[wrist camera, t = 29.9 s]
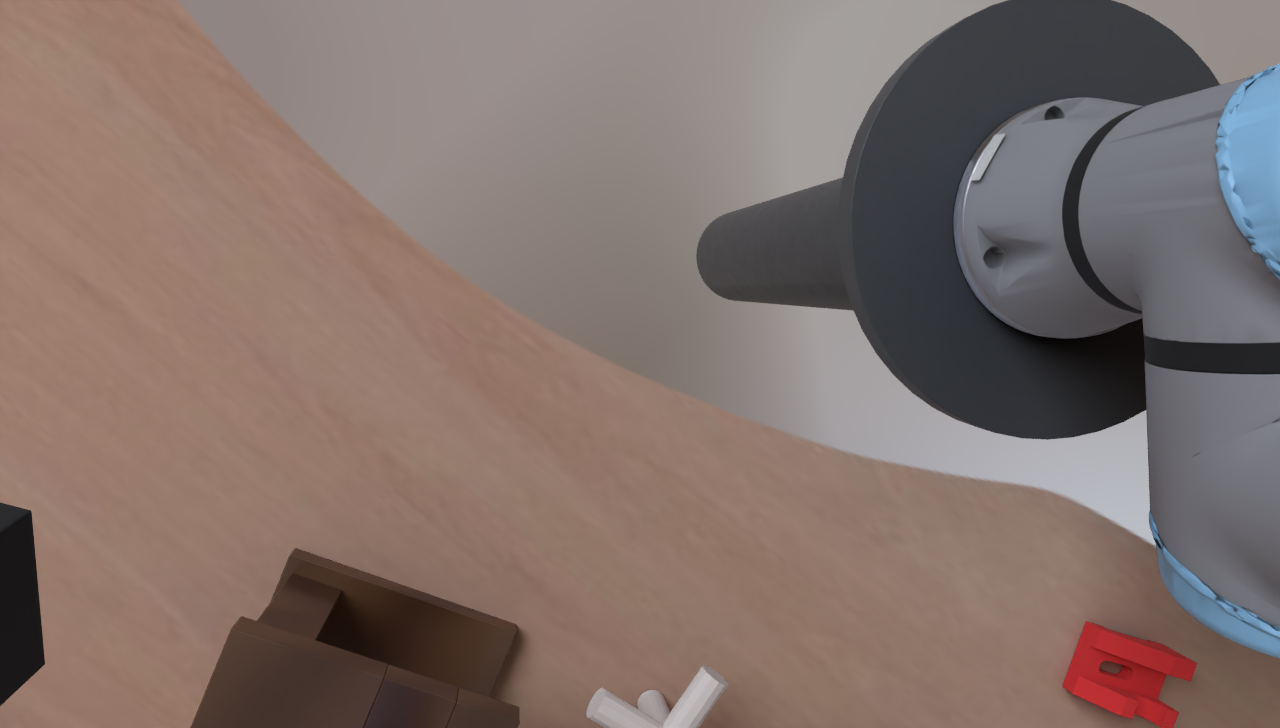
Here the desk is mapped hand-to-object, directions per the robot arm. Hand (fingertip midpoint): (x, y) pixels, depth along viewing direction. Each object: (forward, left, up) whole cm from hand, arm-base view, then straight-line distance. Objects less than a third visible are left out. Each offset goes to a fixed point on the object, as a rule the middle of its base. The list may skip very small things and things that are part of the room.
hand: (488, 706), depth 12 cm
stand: (0, +19, -41) cm, 45 cm away
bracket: (-47, +3, -41) cm, 62 cm away
